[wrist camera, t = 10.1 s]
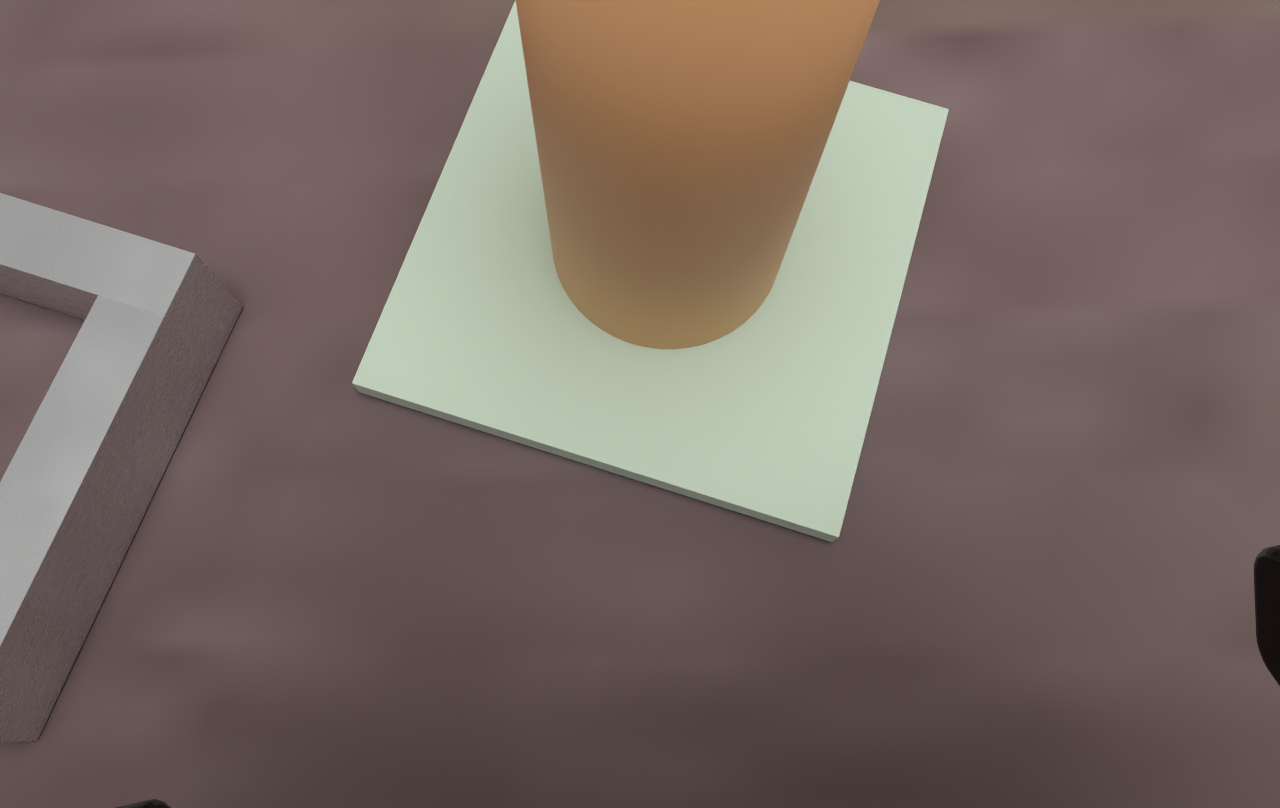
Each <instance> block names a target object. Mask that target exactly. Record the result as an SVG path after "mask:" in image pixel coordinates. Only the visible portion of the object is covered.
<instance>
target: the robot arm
mask: <svg viewBox="0 0 1280 808" xmlns="http://www.w3.org/2000/svg"><path fill="white" fill-rule="evenodd" d="M1254 590H1255V615H1256V637H1257V643H1258V647H1259V651H1260V654H1261V656H1262V659H1263V661H1264V663H1265V665H1266V667H1267V668H1268V670H1269V671H1270V673H1271V674H1272V676H1273V677H1274V679H1275V680H1276V681H1277V683H1278V684H1279V686H1280V545H1278V546H1274V547H1269V548H1266V549H1263V550H1262V551H1261V552H1260V553H1259V554H1258V555H1257V557H1256V560H1255V563H1254ZM117 808H170V806H168V805H167V804H166V803H165V802H163V801H160V800H156V799H152V800H148V801H143V802H139V803H134V804H130V805H126V806H121V807H117Z"/></svg>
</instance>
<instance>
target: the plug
mask: <svg viewBox="0 0 1280 808" xmlns="http://www.w3.org/2000/svg"><path fill="white" fill-rule="evenodd" d="M879 1H880V0H516V6H517V13H518V20H519V27H520V34H521V41H522V47H523V54H524V61H525V68H526V75H527V82H528V89H529V95H530V102H531V109H532V116H533V123H534V130H535V136H536V143H537V150H538V157H539V164H540V171H541V177H542V184H543V191H544V198H545V205H546V212H547V218H548V225H549V232H550V239H551V246H552V253H553V260H554V264H555V267H556V271H557V275H558V277H559V279H560V282H561V284H562V287H563V288H564V290H565V292H566V293H567V295H568V297H569V299H570V300H571V301H572V302H573V304H574V305H575V306H576V307H577V309H578V310H579V311H580V312H581V313H582V314H583V315H584V316H585V317H586V318H587V319H588V320H589V321H591V322H592V323H593V324H595V325H596V326H597V327H599V328H600V329H601V330H603V331H605V332H607V333H608V334H610V335H612V336H614V337H616V338H618V339H621V340H623V341H626V342H628V343H632V344H635V345H639V346H643V347H649V348H656V349H680V348H689V347H694V346H698V345H702V344H706V343H709V342H711V341H714V340H716V339H719V338H721V337H723V336H725V335H727V334H729V333H730V332H732V331H734V330H735V329H736V328H738V327H739V326H741V325H742V324H743V323H745V322H746V321H747V320H748V319H749V318H750V317H751V316H752V315H753V314H754V313H755V312H756V311H757V310H758V308H759V307H760V306H761V305H762V303H763V302H764V301H765V299H766V297H767V296H768V294H769V292H770V291H771V289H772V286H773V284H774V281H775V279H776V277H777V274H778V271H779V269H780V266H781V263H782V260H783V258H784V255H785V252H786V250H787V247H788V244H789V242H790V239H791V236H792V234H793V231H794V228H795V226H796V223H797V220H798V218H799V215H800V212H801V210H802V207H803V204H804V202H805V199H806V196H807V194H808V191H809V188H810V186H811V183H812V180H813V178H814V175H815V172H816V170H817V167H818V164H819V161H820V159H821V156H822V153H823V151H824V148H825V145H826V143H827V140H828V137H829V135H830V132H831V129H832V127H833V124H834V121H835V119H836V116H837V113H838V111H839V108H840V105H841V103H842V100H843V97H844V95H845V92H846V89H847V87H848V84H849V81H850V79H851V76H852V73H853V70H854V68H855V65H856V62H857V60H858V57H859V54H860V52H861V49H862V46H863V44H864V41H865V38H866V36H867V33H868V30H869V28H870V25H871V22H872V20H873V17H874V14H875V12H876V9H877V6H878V4H879Z"/></svg>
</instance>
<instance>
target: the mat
mask: <svg viewBox="0 0 1280 808" xmlns="http://www.w3.org/2000/svg"><path fill="white" fill-rule="evenodd" d="M948 110H949V109H946V108H943V107H939V106H936V105H932V104H929V103H925V102H922V101H918V100H915V99H911V98H908V97H904V96H901V95H897V94H894V93H891V92H887V91H884V90H880V89H877V88H873V87H870V86H866V85H863V84H859V83H856V82H852V81H849V84H848V87H847V89H846V92H845V95H844V97H843V100H842V103H841V105H840V108H839V111H838V113H837V116H836V119H835V121H834V124H833V127H832V129H831V132H830V135H829V137H828V140H827V143H826V145H825V148H824V151H823V153H822V156H821V159H820V161H819V164H818V167H817V170H816V172H815V175H814V178H813V180H812V183H811V186H810V188H809V191H808V194H807V196H806V199H805V202H804V204H803V207H802V210H801V212H800V215H799V218H798V220H797V223H796V226H795V228H794V231H793V234H792V236H791V239H790V242H789V244H788V247H787V250H786V252H785V255H784V258H783V260H782V263H781V266H780V269H779V271H778V274H777V277H776V279H775V281H774V284H773V286H772V289H771V291H770V292H769V294H768V296H767V297H766V299H765V301H764V302H763V303H762V305H761V306H760V307H759V308H758V310H757V311H756V312H755V313H754V314H753V315H752V316H751V317H750V318H749V319H748V320H747V321H746V322H745V323H743V324H742V325H741V326H739V327H738V328H736V329H735V330H734V331H732V332H730V333H729V334H727V335H725V336H723V337H721V338H719V339H716V340H714V341H711V342H709V343H706V344H702V345H698V346H694V347H689V348H680V349H656V348H649V347H643V346H639V345H635V344H632V343H628V342H626V341H623V340H621V339H618V338H616V337H614V336H612V335H610V334H608V333H607V332H605V331H603V330H601V329H600V328H599V327H597V326H596V325H595V324H593V323H592V322H591V321H589V320H588V319H587V318H586V317H585V316H584V315H583V314H582V313H581V312H580V311H579V310H578V309H577V307H576V306H575V305H574V304H573V302H572V301H571V300H570V299H569V297H568V295H567V293H566V292H565V290H564V288H563V287H562V284H561V282H560V279H559V277H558V275H557V271H556V267H555V264H554V260H553V253H552V246H551V239H550V232H549V225H548V218H547V212H546V205H545V198H544V191H543V184H542V177H541V171H540V164H539V157H538V150H537V143H536V136H535V130H534V123H533V116H532V109H531V102H530V95H529V89H528V82H527V75H526V68H525V61H524V54H523V47H522V41H521V34H520V27H519V20H518V13H517V6H516V0H515V2H514V5H513V7H512V9H511V12H510V14H509V16H508V19H507V21H506V23H505V26H504V28H503V31H502V33H501V35H500V38H499V40H498V42H497V45H496V47H495V49H494V52H493V54H492V56H491V59H490V61H489V63H488V66H487V68H486V70H485V73H484V75H483V77H482V80H481V82H480V84H479V87H478V89H477V91H476V94H475V96H474V98H473V101H472V103H471V106H470V108H469V110H468V113H467V115H466V117H465V120H464V122H463V124H462V127H461V129H460V131H459V134H458V136H457V138H456V141H455V143H454V145H453V148H452V150H451V152H450V155H449V157H448V159H447V162H446V164H445V166H444V169H443V171H442V173H441V176H440V178H439V181H438V183H437V185H436V188H435V190H434V192H433V195H432V197H431V199H430V202H429V204H428V206H427V209H426V211H425V213H424V216H423V218H422V220H421V223H420V225H419V227H418V230H417V232H416V234H415V237H414V239H413V241H412V244H411V246H410V248H409V251H408V253H407V256H406V258H405V260H404V263H403V265H402V267H401V270H400V272H399V274H398V277H397V279H396V281H395V284H394V286H393V288H392V291H391V293H390V295H389V298H388V300H387V302H386V305H385V307H384V309H383V312H382V314H381V316H380V319H379V321H378V323H377V326H376V328H375V331H374V333H373V335H372V338H371V340H370V342H369V345H368V347H367V349H366V352H365V354H364V356H363V359H362V361H361V363H360V366H359V368H358V370H357V373H356V375H355V377H354V380H353V382H352V384H353V385H354V386H355V388H356V389H357V390H358V391H359V392H360V393H363V394H366V395H369V396H372V397H376V398H379V399H382V400H385V401H388V402H391V403H394V404H398V405H401V406H404V407H407V408H410V409H413V410H417V411H420V412H423V413H426V414H429V415H432V416H435V417H439V418H442V419H445V420H448V421H451V422H454V423H458V424H461V425H464V426H467V427H470V428H473V429H476V430H480V431H483V432H486V433H489V434H492V435H495V436H499V437H502V438H505V439H508V440H511V441H514V442H517V443H521V444H524V445H527V446H530V447H533V448H536V449H540V450H543V451H546V452H549V453H552V454H555V455H558V456H562V457H565V458H568V459H571V460H574V461H577V462H581V463H584V464H587V465H590V466H593V467H596V468H599V469H603V470H606V471H609V472H612V473H615V474H618V475H622V476H625V477H628V478H631V479H634V480H637V481H640V482H644V483H647V484H650V485H653V486H656V487H659V488H663V489H666V490H669V491H672V492H675V493H678V494H681V495H685V496H688V497H691V498H694V499H697V500H700V501H704V502H707V503H710V504H713V505H716V506H719V507H722V508H726V509H729V510H732V511H735V512H738V513H741V514H745V515H748V516H751V517H754V518H757V519H760V520H763V521H767V522H770V523H773V524H776V525H779V526H782V527H786V528H789V529H792V530H795V531H798V532H801V533H804V534H808V535H811V536H814V537H817V538H820V539H823V540H827V541H830V542H833V541H834V540H836V539H837V538H838V537H839V535H840V531H841V527H842V523H843V519H844V515H845V511H846V507H847V503H848V500H849V496H850V492H851V488H852V484H853V480H854V476H855V472H856V468H857V465H858V461H859V457H860V453H861V449H862V445H863V441H864V437H865V433H866V429H867V426H868V422H869V418H870V414H871V410H872V406H873V402H874V398H875V394H876V391H877V387H878V383H879V379H880V375H881V371H882V367H883V363H884V359H885V356H886V352H887V348H888V344H889V340H890V336H891V332H892V328H893V324H894V320H895V317H896V313H897V309H898V305H899V301H900V297H901V293H902V289H903V285H904V282H905V278H906V274H907V270H908V266H909V262H910V258H911V254H912V250H913V247H914V243H915V239H916V235H917V231H918V227H919V223H920V219H921V215H922V211H923V208H924V204H925V200H926V196H927V192H928V188H929V184H930V180H931V176H932V173H933V169H934V165H935V161H936V157H937V153H938V149H939V145H940V141H941V138H942V134H943V130H944V126H945V122H946V118H947V114H948Z"/></svg>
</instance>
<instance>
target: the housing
mask: <svg viewBox="0 0 1280 808" xmlns="http://www.w3.org/2000/svg"><path fill="white" fill-rule="evenodd" d="M0 293H1V294H4V295H7V296H10V297H13V298H16V299H20V300H23V301H26V302H29V303H32V304H35V305H38V306H42V307H45V308H48V309H51V310H54V311H57V312H60V313H64V314H67V315H70V316H73V317H76V318H79V319H82V320H85V321H84V323H83V325H82V327H81V329H80V331H79V333H78V335H77V337H76V339H75V340H74V342H73V344H72V346H71V348H70V350H69V352H68V354H67V356H66V358H65V360H64V361H63V363H62V365H61V367H60V369H59V371H58V373H57V375H56V377H55V379H54V381H53V382H52V384H51V386H50V388H49V390H48V392H47V394H46V396H45V398H44V400H43V402H42V403H41V405H40V407H39V409H38V411H37V413H36V415H35V417H34V419H33V421H32V423H31V425H30V426H29V428H28V430H27V432H26V434H25V436H24V438H23V440H22V442H21V444H20V446H19V447H18V449H17V451H16V453H15V455H14V457H13V459H12V461H11V463H10V465H9V467H8V468H7V470H6V472H5V474H4V476H3V478H2V480H1V482H0V743H6V742H23V741H37V740H38V738H39V736H40V734H41V732H42V729H43V727H44V725H45V723H46V721H47V719H48V717H49V715H50V713H51V710H52V708H53V706H54V704H55V702H56V700H57V698H58V696H59V694H60V691H61V689H62V687H63V685H64V683H65V681H66V679H67V677H68V674H69V672H70V670H71V668H72V666H73V664H74V662H75V660H76V658H77V655H78V653H79V651H80V649H81V647H82V645H83V643H84V641H85V639H86V636H87V634H88V632H89V630H90V628H91V626H92V624H93V622H94V620H95V617H96V615H97V613H98V611H99V609H100V607H101V605H102V603H103V601H104V598H105V596H106V594H107V592H108V590H109V588H110V586H111V584H112V582H113V579H114V577H115V575H116V573H117V571H118V569H119V567H120V565H121V563H122V560H123V558H124V556H125V554H126V552H127V550H128V548H129V546H130V544H131V541H132V539H133V537H134V535H135V533H136V531H137V529H138V527H139V525H140V522H141V520H142V518H143V516H144V514H145V512H146V510H147V508H148V506H149V503H150V501H151V499H152V497H153V495H154V493H155V491H156V489H157V487H158V484H159V482H160V480H161V478H162V476H163V474H164V472H165V470H166V468H167V465H168V463H169V461H170V459H171V457H172V455H173V453H174V451H175V449H176V446H177V444H178V442H179V440H180V438H181V436H182V434H183V432H184V430H185V427H186V425H187V423H188V421H189V419H190V417H191V415H192V413H193V411H194V408H195V406H196V404H197V402H198V400H199V398H200V396H201V394H202V392H203V389H204V387H205V385H206V383H207V381H208V379H209V377H210V375H211V373H212V370H213V368H214V366H215V364H216V362H217V360H218V358H219V356H220V354H221V351H222V349H223V347H224V345H225V343H226V341H227V339H228V337H229V335H230V332H231V330H232V328H233V326H234V324H235V322H236V320H237V318H238V316H239V313H240V311H241V309H242V307H243V306H242V305H241V304H240V302H239V301H238V300H237V299H236V298H235V297H234V296H233V295H232V294H231V293H230V291H229V290H228V289H227V288H226V287H225V286H224V285H223V284H222V283H221V281H220V280H219V279H218V278H217V277H216V276H215V275H214V274H213V273H212V272H211V270H210V269H209V268H208V267H207V266H206V265H205V264H204V263H203V262H202V260H201V259H200V258H199V257H198V256H197V255H196V254H194V253H191V252H188V251H185V250H182V249H178V248H175V247H172V246H169V245H165V244H162V243H159V242H156V241H153V240H149V239H146V238H143V237H140V236H137V235H133V234H130V233H127V232H124V231H121V230H117V229H114V228H111V227H108V226H105V225H101V224H98V223H95V222H92V221H88V220H85V219H82V218H79V217H76V216H72V215H69V214H66V213H63V212H60V211H56V210H53V209H50V208H47V207H44V206H40V205H37V204H34V203H31V202H27V201H24V200H21V199H18V198H15V197H11V196H8V195H5V194H2V193H0Z"/></svg>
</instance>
